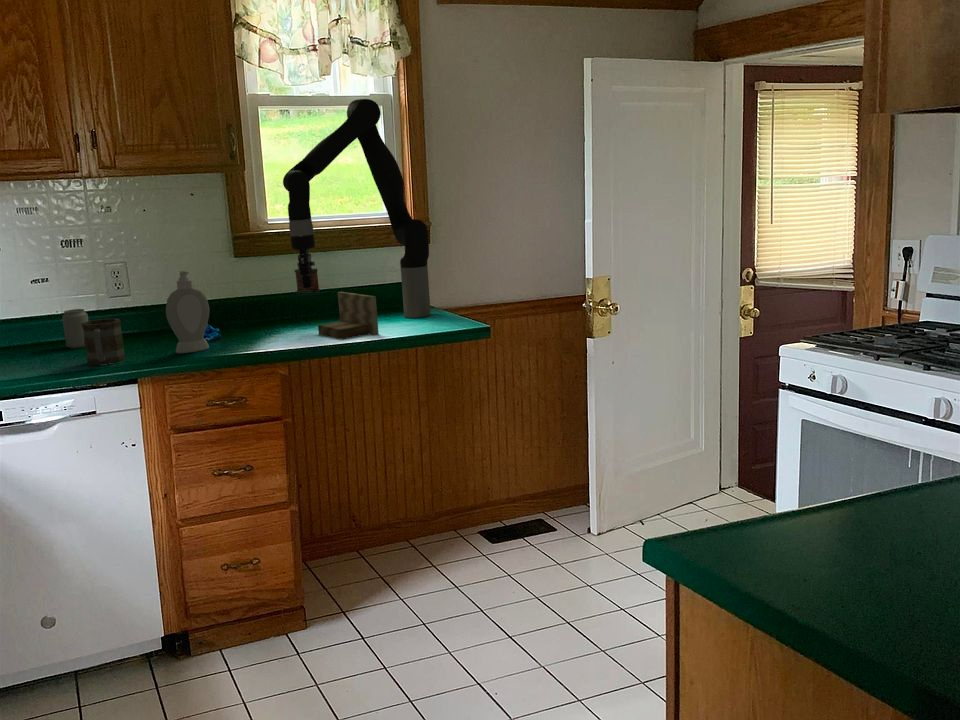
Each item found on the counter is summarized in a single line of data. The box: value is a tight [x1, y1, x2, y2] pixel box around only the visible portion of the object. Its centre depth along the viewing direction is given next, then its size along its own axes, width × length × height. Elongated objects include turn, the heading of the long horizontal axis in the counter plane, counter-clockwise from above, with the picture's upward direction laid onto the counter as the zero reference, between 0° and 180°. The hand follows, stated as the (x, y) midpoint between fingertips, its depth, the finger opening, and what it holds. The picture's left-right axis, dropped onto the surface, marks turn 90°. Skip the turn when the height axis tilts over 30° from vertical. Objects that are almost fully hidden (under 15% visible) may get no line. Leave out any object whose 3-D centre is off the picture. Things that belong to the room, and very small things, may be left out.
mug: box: [81, 318, 127, 366], centre depth 268 cm, size 16×11×12 cm
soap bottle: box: [165, 269, 210, 354], centre depth 278 cm, size 13×8×24 cm, turn 123°
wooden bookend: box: [317, 291, 380, 340], centre depth 295 cm, size 20×12×12 cm, turn 40°
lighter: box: [294, 261, 321, 294], centre depth 302 cm, size 8×3×10 cm, turn 68°
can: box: [61, 308, 89, 350], centre depth 298 cm, size 8×8×12 cm
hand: (307, 286), depth 303 cm, fingers closed on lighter, 4 cm apart
